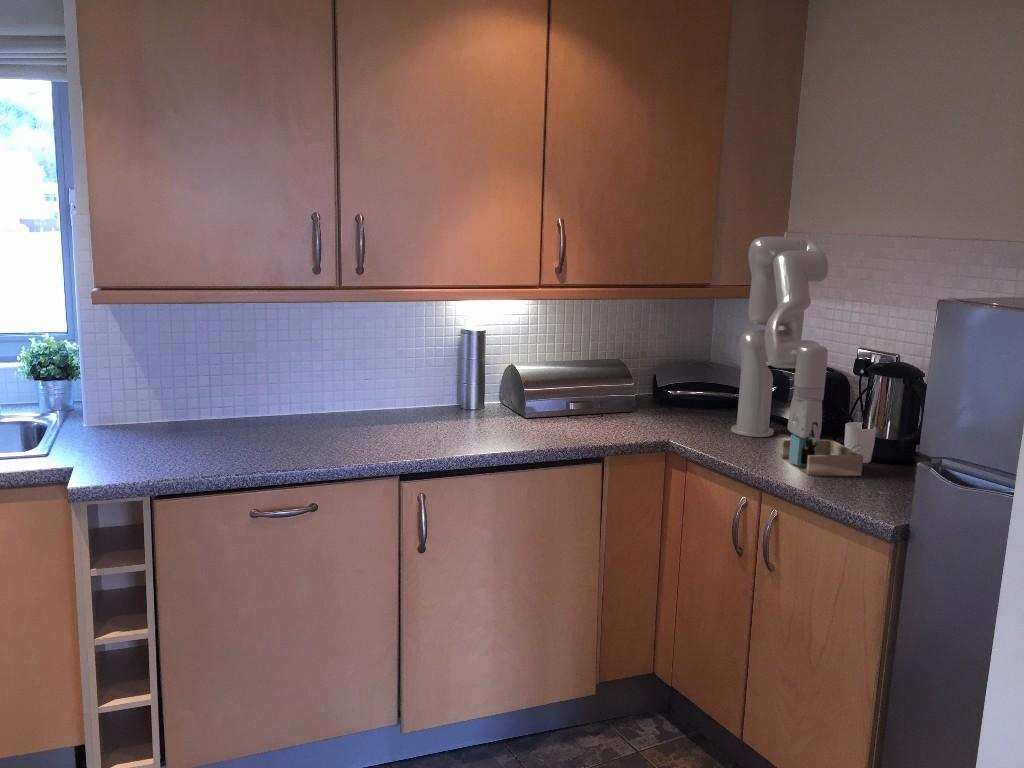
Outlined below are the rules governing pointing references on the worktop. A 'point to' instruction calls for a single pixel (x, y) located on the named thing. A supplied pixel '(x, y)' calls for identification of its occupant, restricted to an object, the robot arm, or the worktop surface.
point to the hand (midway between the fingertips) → (802, 460)
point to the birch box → (828, 460)
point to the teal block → (797, 450)
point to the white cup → (860, 440)
